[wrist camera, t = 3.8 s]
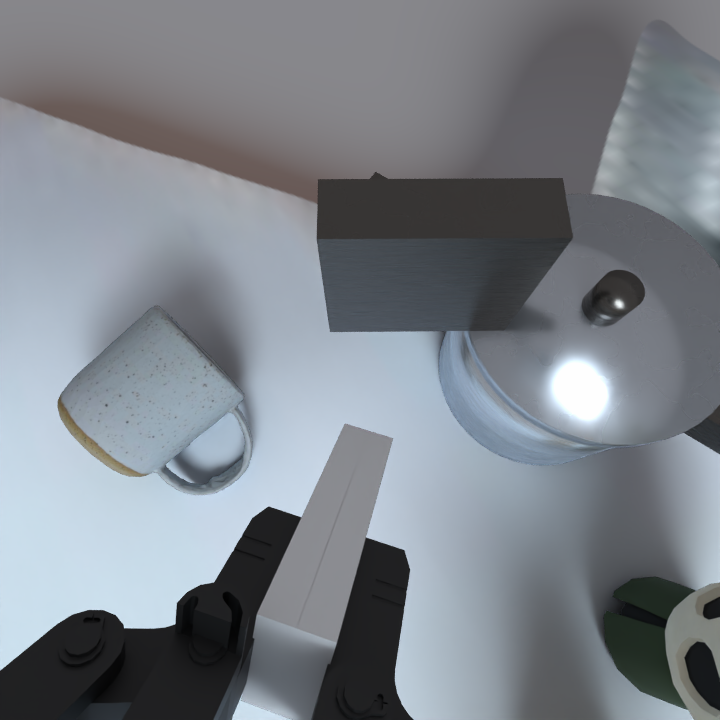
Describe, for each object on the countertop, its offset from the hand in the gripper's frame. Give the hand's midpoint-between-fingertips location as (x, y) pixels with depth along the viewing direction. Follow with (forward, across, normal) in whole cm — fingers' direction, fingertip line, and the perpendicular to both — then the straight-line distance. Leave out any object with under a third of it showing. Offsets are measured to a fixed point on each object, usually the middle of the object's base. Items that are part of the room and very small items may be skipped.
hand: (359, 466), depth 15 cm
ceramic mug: (+13, -12, -11) cm, 21 cm away
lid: (+13, +6, +2) cm, 14 cm away
